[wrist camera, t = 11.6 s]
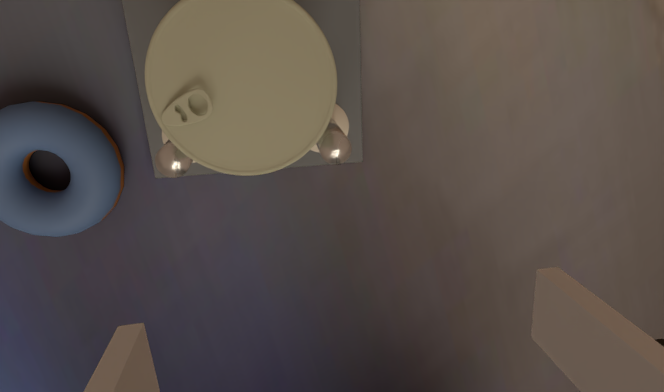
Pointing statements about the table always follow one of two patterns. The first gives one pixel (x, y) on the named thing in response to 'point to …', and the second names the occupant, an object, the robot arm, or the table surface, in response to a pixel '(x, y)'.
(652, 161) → the table surface
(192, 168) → the board
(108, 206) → the doughnut
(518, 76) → the table surface
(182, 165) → the pins
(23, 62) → the table surface
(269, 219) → the table surface
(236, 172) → the can
